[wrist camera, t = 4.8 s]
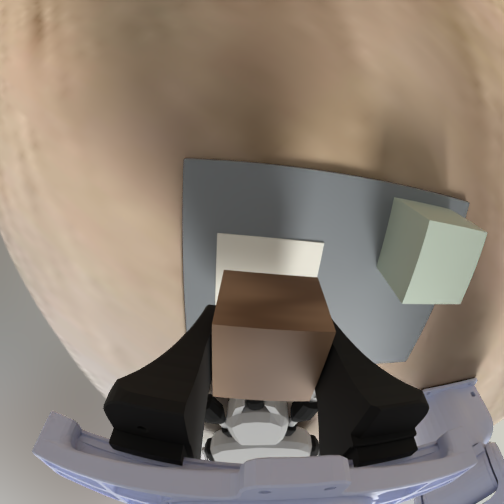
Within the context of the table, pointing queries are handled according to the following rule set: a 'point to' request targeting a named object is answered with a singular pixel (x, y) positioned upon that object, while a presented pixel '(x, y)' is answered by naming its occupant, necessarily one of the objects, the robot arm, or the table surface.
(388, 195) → the board
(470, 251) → the sage block
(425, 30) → the table surface
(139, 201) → the table surface
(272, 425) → the robot toy
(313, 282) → the walnut block
